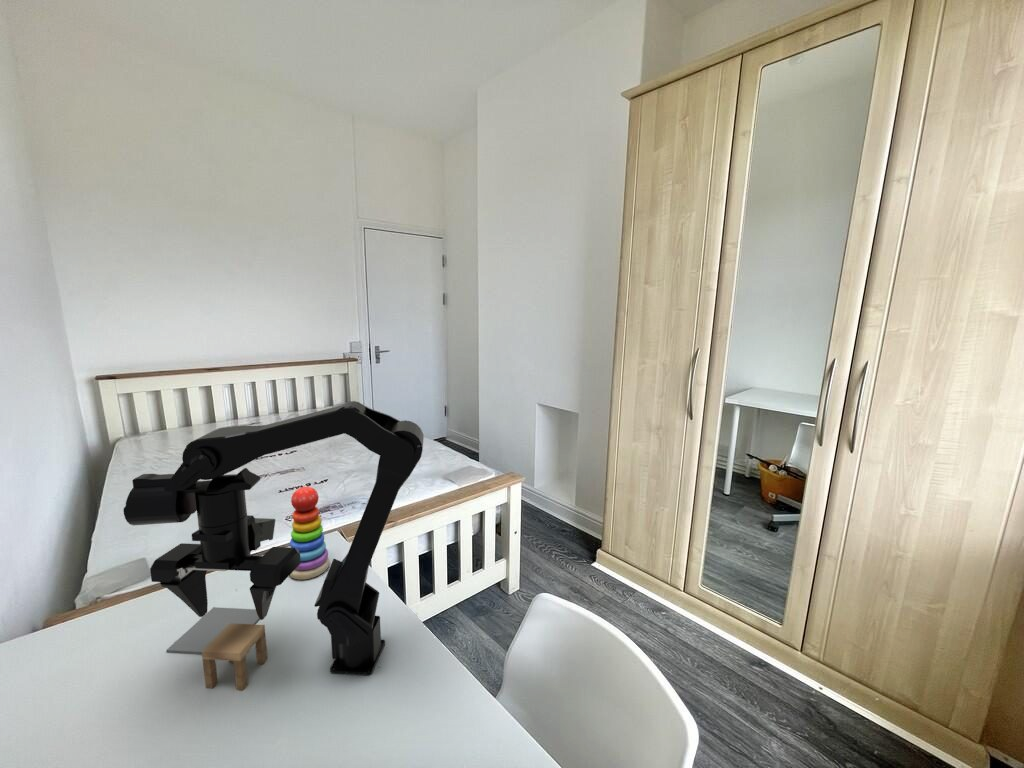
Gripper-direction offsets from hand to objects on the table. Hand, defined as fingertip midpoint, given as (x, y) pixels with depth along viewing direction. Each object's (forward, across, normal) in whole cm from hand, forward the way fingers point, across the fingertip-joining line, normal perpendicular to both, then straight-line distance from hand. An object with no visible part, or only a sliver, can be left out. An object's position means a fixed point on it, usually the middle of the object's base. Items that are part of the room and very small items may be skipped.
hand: (233, 616), depth 61 cm
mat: (+10, +9, -8) cm, 15 cm away
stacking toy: (+10, +3, -26) cm, 28 cm away
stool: (+10, 0, 0) cm, 10 cm away
